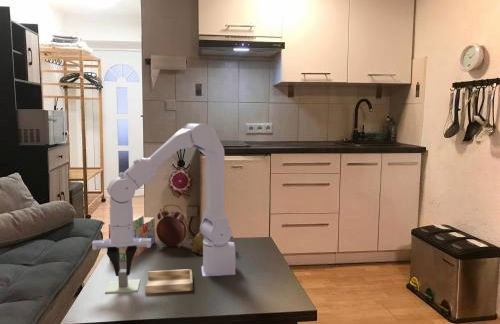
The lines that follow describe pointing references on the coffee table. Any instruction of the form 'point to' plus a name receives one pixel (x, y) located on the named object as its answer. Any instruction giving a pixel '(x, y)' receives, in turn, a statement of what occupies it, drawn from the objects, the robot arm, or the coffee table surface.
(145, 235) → the stack of blocks
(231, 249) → the robot arm
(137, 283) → the cover plate
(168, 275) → the box
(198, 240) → the seashell
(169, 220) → the alarm clock
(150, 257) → the coffee table surface
